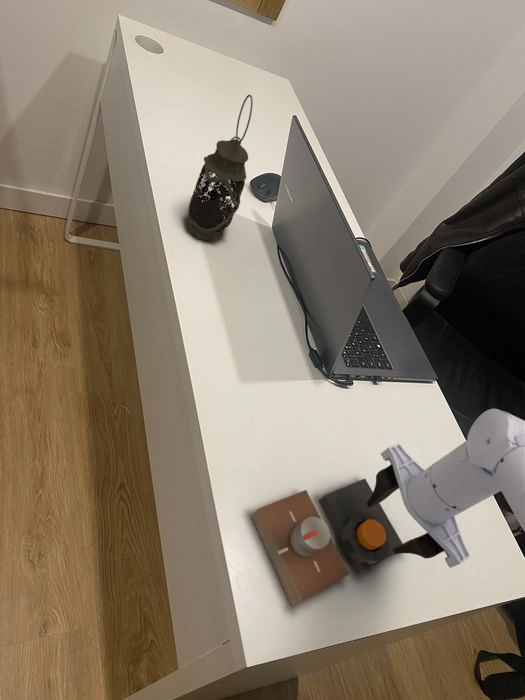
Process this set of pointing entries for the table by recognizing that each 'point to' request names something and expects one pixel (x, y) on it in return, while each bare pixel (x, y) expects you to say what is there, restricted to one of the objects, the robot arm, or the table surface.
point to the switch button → (371, 534)
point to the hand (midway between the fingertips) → (385, 525)
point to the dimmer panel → (291, 568)
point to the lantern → (226, 166)
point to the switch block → (358, 523)
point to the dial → (310, 536)
